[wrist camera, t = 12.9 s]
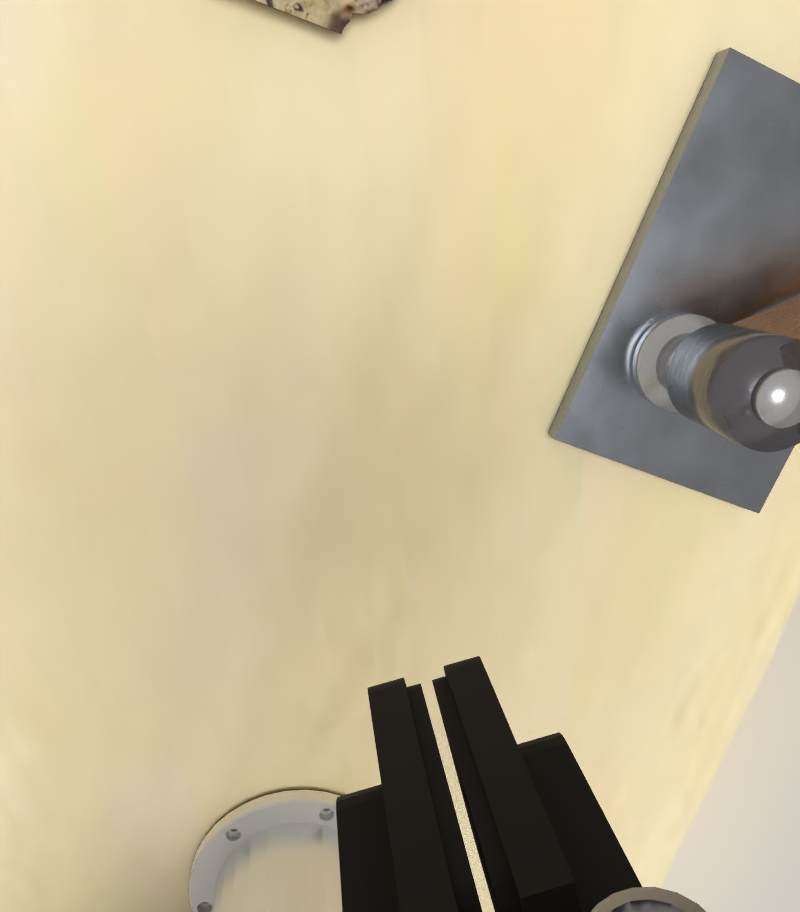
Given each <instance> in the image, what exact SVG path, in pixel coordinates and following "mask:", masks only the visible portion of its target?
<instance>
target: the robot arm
mask: <svg viewBox="0 0 800 912" xmlns="http://www.w3.org/2000/svg"><path fill="white" fill-rule="evenodd" d="M444 671H445V675H446V676H445V677H441V678H438V679H434V680H432V682H433V686H434V689H435V693H436V697H437V701H438V704H439V708H440V712H441V716H442V720H443V723H444V727H445V731H446V735H447V738H448V742H449V746H450V750H451V753H452V757H453V761H454V765H455V769H456V772H457V776H458V780H459V784H460V787H461V791H462V795H463V799H464V802H465V806H466V810H467V814H468V817H469V821H470V825H471V829H472V832H473V836H474V840H475V843H476V847H477V850H478V854H479V857H480V861H481V864H482V868H483V871H484V875H485V878H486V882H487V885H488V889H489V892H490V896H491V899H492V903H493V906H494V910H495V912H706V911H705V910H704V909H703V908H702V907H701V906H700V905H698V904H697V903H695V902H693V901H692V900H690V899H688V898H686V897H684V896H682V895H680V894H679V893H677V892H672V891H669V890H664V889H661V888H657V887H642V886H641V884H640V882H639V880H638V878H637V876H636V874H635V872H634V870H633V869H632V867H631V865H630V863H629V861H628V859H627V857H626V855H625V853H624V851H623V849H622V847H621V846H620V844H619V842H618V840H617V838H616V836H615V834H614V832H613V830H612V828H611V826H610V824H609V823H608V821H607V819H606V817H605V815H604V813H603V811H602V809H601V807H600V805H599V803H598V801H597V800H596V798H595V796H594V794H593V792H592V790H591V788H590V786H589V784H588V782H587V780H586V778H585V777H584V775H583V773H582V771H581V769H580V767H579V765H578V763H577V761H576V759H575V757H574V755H573V753H572V752H571V750H570V748H569V746H568V744H567V742H566V740H565V739H564V737H563V735H562V734H560V733H555V734H552V735H548V736H545V737H542V738H538V739H535V740H531V741H528V742H525V743H521V744H518V745H517V743H516V741H515V738H514V736H513V734H512V731H511V729H510V727H509V724H508V722H507V720H506V717H505V715H504V712H503V710H502V708H501V705H500V703H499V701H498V698H497V696H496V694H495V691H494V689H493V686H492V684H491V682H490V679H489V677H488V675H487V672H486V670H485V668H484V665H483V663H482V660H481V658H480V657H479V656H477V657H474V658H470V659H467V660H463V661H460V662H456V663H453V664H449V665H446V666H444ZM368 695H369V702H370V709H371V716H372V722H373V729H374V736H375V743H376V749H377V756H378V763H379V770H380V776H381V783H382V784H381V785H378V786H374V787H371V788H367V789H364V790H361V791H357V792H354V793H350V794H347V795H344V796H339V795H335V794H332V793H328V792H322V791H313V790H293V791H283V792H278V793H274V794H269V795H265V796H262V797H260V798H257V799H254V800H252V801H249V802H247V803H245V804H243V805H242V806H240V807H238V808H236V809H235V810H233V811H231V812H230V813H228V814H227V815H226V816H225V817H224V818H222V819H221V820H220V821H219V822H218V823H217V824H215V825H214V827H213V828H212V829H211V830H210V831H209V833H208V834H207V835H206V836H205V838H204V839H203V841H202V843H201V845H200V846H199V848H198V850H197V852H196V854H195V858H194V861H193V865H192V869H191V876H190V884H189V897H190V906H191V909H192V911H193V912H482V909H481V905H480V901H479V898H478V894H477V890H476V886H475V883H474V879H473V875H472V872H471V868H470V864H469V860H468V857H467V853H466V849H465V845H464V842H463V838H462V834H461V831H460V827H459V823H458V820H457V816H456V812H455V809H454V805H453V801H452V797H451V794H450V790H449V786H448V783H447V779H446V775H445V772H444V768H443V764H442V761H441V757H440V753H439V750H438V746H437V742H436V739H435V735H434V731H433V728H432V724H431V720H430V716H429V713H428V709H427V705H426V702H425V698H424V694H423V691H422V687H421V684H417V685H414V686H410V687H406V683H405V680H404V678H400V679H397V680H393V681H390V682H386V683H383V684H379V685H376V686H372V687H369V688H368Z"/></svg>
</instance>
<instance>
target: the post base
mask: <svg viewBox="0 0 800 912" xmlns="http://www.w3.org/2000/svg"><path fill="white" fill-rule="evenodd" d="M799 296H800V84H799V83H797V82H795V81H793V80H791V79H790V78H788V77H786V76H784V75H782V74H780V73H778V72H776V71H774V70H772V69H770V68H768V67H767V66H765V65H763V64H761V63H759V62H757V61H755V60H753V59H751V58H749V57H747V56H745V55H743V54H742V53H740V52H738V51H736V50H734V49H732V48H728V49H726V50H723V51H721V52H719V53H717V54H716V56H715V58H714V61H713V63H712V65H711V67H710V70H709V72H708V74H707V76H706V79H705V81H704V83H703V85H702V88H701V90H700V92H699V94H698V97H697V99H696V101H695V103H694V106H693V108H692V110H691V112H690V115H689V117H688V119H687V121H686V124H685V126H684V128H683V130H682V133H681V135H680V137H679V139H678V142H677V144H676V146H675V148H674V151H673V153H672V155H671V157H670V160H669V162H668V164H667V166H666V169H665V171H664V173H663V175H662V178H661V180H660V182H659V184H658V187H657V189H656V191H655V193H654V196H653V198H652V200H651V202H650V205H649V207H648V209H647V211H646V214H645V216H644V218H643V220H642V223H641V225H640V227H639V230H638V232H637V234H636V236H635V239H634V241H633V243H632V245H631V248H630V250H629V252H628V254H627V257H626V259H625V261H624V263H623V266H622V268H621V270H620V272H619V275H618V277H617V279H616V281H615V284H614V286H613V288H612V290H611V293H610V295H609V297H608V299H607V302H606V304H605V306H604V308H603V311H602V313H601V315H600V317H599V320H598V322H597V324H596V326H595V329H594V331H593V333H592V335H591V338H590V340H589V342H588V344H587V347H586V349H585V351H584V353H583V356H582V358H581V360H580V362H579V365H578V367H577V369H576V371H575V374H574V376H573V378H572V380H571V383H570V385H569V387H568V389H567V392H566V394H565V396H564V398H563V401H562V403H561V405H560V408H559V410H558V412H557V414H556V417H555V419H554V421H553V423H552V426H551V428H550V430H549V432H548V434H549V435H551V436H552V437H553V438H554V439H556V440H559V441H562V442H564V443H567V444H570V445H573V446H575V447H578V448H581V449H584V450H586V451H589V452H592V453H595V454H597V455H600V456H603V457H606V458H608V459H611V460H614V461H617V462H619V463H622V464H625V465H628V466H630V467H633V468H636V469H638V470H641V471H644V472H647V473H649V474H652V475H655V476H658V477H660V478H663V479H666V480H669V481H671V482H674V483H677V484H680V485H682V486H685V487H688V488H691V489H693V490H696V491H699V492H702V493H704V494H707V495H710V496H713V497H715V498H718V499H721V500H724V501H726V502H729V503H732V504H735V505H737V506H740V507H743V508H746V509H748V510H751V511H754V512H757V513H759V512H760V511H761V509H762V507H763V505H764V503H765V501H766V499H767V497H768V495H769V493H770V492H771V490H772V488H773V486H774V484H775V482H776V480H777V478H778V476H779V474H780V472H781V471H782V469H783V467H784V465H785V463H786V461H787V459H788V457H789V455H790V453H791V452H792V450H793V448H794V446H792V447H790V448H788V449H785V450H782V451H777V452H760V451H755V450H752V449H749V448H747V447H745V446H743V445H741V444H739V443H737V442H735V441H733V440H731V439H729V438H726V437H724V436H722V435H720V434H718V433H716V432H714V431H712V430H710V429H708V428H706V427H704V426H702V425H700V424H698V423H696V422H694V421H691V420H689V419H688V418H686V417H684V416H683V415H682V414H680V413H679V412H678V411H677V410H676V408H675V407H674V406H673V404H672V402H671V400H670V398H669V395H668V391H667V384H666V377H667V370H668V366H669V363H670V360H671V358H672V355H673V354H674V352H675V350H676V349H677V347H678V346H679V345H680V343H681V342H682V341H683V340H684V339H685V338H686V337H687V336H689V335H690V334H691V333H693V332H694V331H696V330H697V329H700V328H702V327H704V326H707V325H711V324H716V323H726V324H733V323H735V322H738V321H740V320H743V319H745V318H748V317H750V316H752V315H755V314H757V313H760V312H762V311H765V310H767V309H770V308H772V307H774V306H777V305H779V304H782V303H784V302H787V301H789V300H792V299H794V298H797V297H799Z"/></svg>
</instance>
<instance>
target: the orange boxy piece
mask: <svg viewBox="0 0 800 912" xmlns="http://www.w3.org/2000/svg"><path fill="white" fill-rule="evenodd" d="M666 384H667V391H668V395H669V398H670V400H671V402H672V404H673V406H674V407H675V408H676V410H677V411H678V412H679V413H680V414H682V415H683V416H684V417H686V418H688V419H689V420H691V421H694V422H696V423H698V424H700V425H702V426H704V427H706V428H708V429H710V430H712V431H714V432H716V433H718V434H720V435H722V436H724V437H726V438H729V439H731V440H733V441H735V442H737V443H739V444H741V445H743V446H745V447H747V448H749V449H752V450H755V451H760V452H777V451H782V450H785V449H788V448H790V447H792V446H795V445H797V444H798V443H800V296H799V297H797V298H794V299H792V300H789V301H787V302H784V303H782V304H779V305H777V306H774V307H772V308H770V309H767V310H765V311H762V312H760V313H757V314H755V315H752V316H750V317H748V318H745V319H743V320H740V321H738V322H735V323H733V324H726V323H716V324H711V325H707V326H704V327H702V328H700V329H697V330H696V331H694V332H693V333H691V334H690V335H689V336H687V337H686V338H685V339H684V340H683V341H682V342H681V343H680V345H679V346H678V347H677V349H676V350H675V352H674V354H673V355H672V358H671V360H670V363H669V366H668V370H667V377H666Z"/></svg>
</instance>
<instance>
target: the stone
mask: <svg viewBox="0 0 800 912" xmlns="http://www.w3.org/2000/svg"><path fill="white" fill-rule="evenodd" d="M256 1H258V2H261V3H263V4H266V5H268V6H271V7H274V8H276V9H279V10H281V11H284V12H286V13H289V14H291V15H294V16H297V17H299V18H302V19H304V20H307V21H309V22H312V23H315V24H317V25H320V26H322V27H325V28H327V29H330V30H332V31H335V32H338V33H340V34H342V31H343V28H344V27H345V26H346V24H347V23H348V22H349V21H350V18H351V16H352V13H362V14H365V13H368V12H371V11H374V10H376V9H378V8H379V7H380V6H381V5H382V4H384V3H387V2H389V1H392V0H256Z"/></svg>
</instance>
